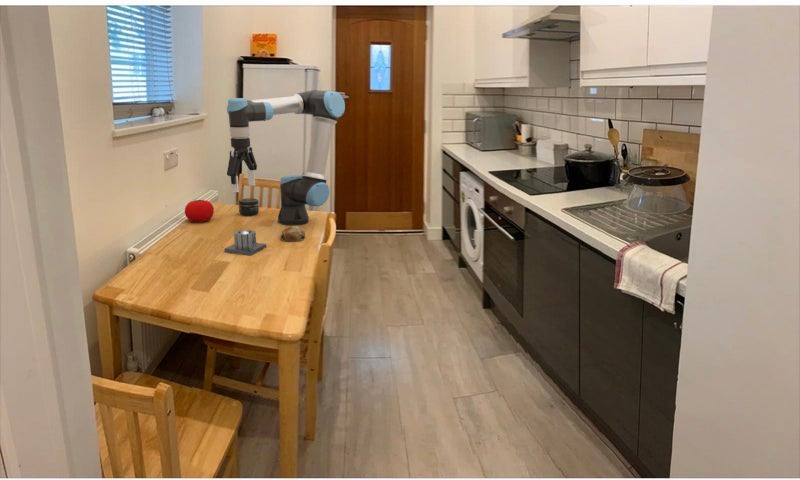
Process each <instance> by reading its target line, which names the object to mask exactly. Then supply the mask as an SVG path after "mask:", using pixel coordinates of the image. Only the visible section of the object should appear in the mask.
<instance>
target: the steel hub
mask: <svg viewBox="0 0 800 480" xmlns="http://www.w3.org/2000/svg"><path fill="white" fill-rule="evenodd" d="M244 230H246V231H248V232H249V233H248V234H241V232H242V231H244ZM256 235H257V232H256V230H254V229H247V228H245V229H238V230H234V233H233V236H234V237H233V239H234V244H235V248H237V249H251V248H255V247H256V243H257V236H256Z"/></svg>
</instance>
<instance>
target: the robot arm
mask: <svg viewBox="0 0 800 480" xmlns="http://www.w3.org/2000/svg"><path fill="white" fill-rule="evenodd" d="M345 103H346V102H345V99H343V96H342V95H341V94H340V93H339V92H337V91H333V90H317V89H316V90H314V89H313V90H312V89H311V90H308V91H302V92H297V93H296V92H295V93H293V94H291V95H290V96H279V97H268V98H260V99H259V98H258V99H257V98H256V99H249V100H247V98H244V97H242V98H241V97H240V98H239V97H235V98H233V97H231V98H229V99H228V101H227V105H226V113H227V114H228V115H227V116H228V122H229V123H228V124H229V132H230V137H231V138H230V146H231V148H233V149H234V150H230V151H229V157H228V158H229V159H228V164H227V165H228V166H227V171H226V175H227V176H228V177H230V184H231V192H232V193H239V192H240V188H239V176H238V175H237V174H238V171H239V168H240V165H241V163H242V162H244V163H245V165H246V166H247V178H248V186H256V178H255V176H256V175H255V171H257V170H258V165H257V161H256V159H255V155H254V152H253V148H252V147H251V138H250V134H251V133H250V122H265V121H270V120H272V119H273V117H274V116H278V115H284V114H292V113H293V114H296V115H308V116H309V115H311V116H312V119H313V120H314V125H313V126H314V128H313V131H312V132H313V133H312V137H311V142H310V143H311V144H310V149H309V156H308V161H307V167H306V172H305V173H303V174H294V175H293V174H292V175H284V176H282V177H281V178H280V184H279V186H280V189H279V190H280V210H279V213H278V216H277V222H278V224H281V225H286V226H287V225H288V226H301V225H305V224H308V223H309V222H310V217H309V214H308V211H307V208H306V205H308V206H309V207H321V206H323V205H324V204H325V203H326V202H327V201H328V199H329V196H330V192H331V191H330V188H329V187H330V186H328V184H327V180H328V179H327V178H326V177H325V174H326V168H327V163H328V158H329V157H328V156H329V151H330V146H331V141H332V136H333V135H332V134H333V131H334V130H333V129H334V125H336V124H337V123H338V120H339V118H340V117H342V116H343V115H344V114H345V109H346V104H345Z"/></svg>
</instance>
